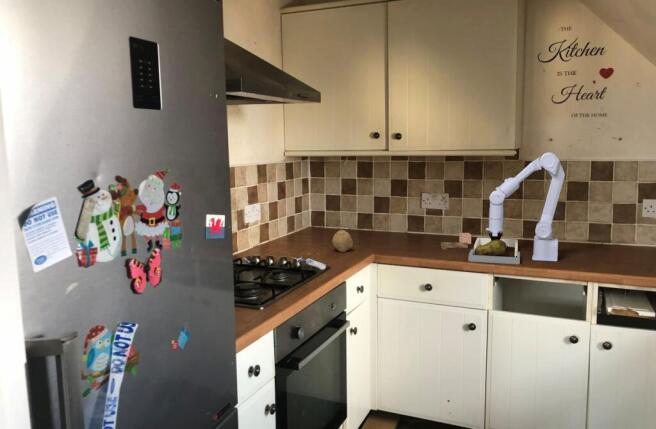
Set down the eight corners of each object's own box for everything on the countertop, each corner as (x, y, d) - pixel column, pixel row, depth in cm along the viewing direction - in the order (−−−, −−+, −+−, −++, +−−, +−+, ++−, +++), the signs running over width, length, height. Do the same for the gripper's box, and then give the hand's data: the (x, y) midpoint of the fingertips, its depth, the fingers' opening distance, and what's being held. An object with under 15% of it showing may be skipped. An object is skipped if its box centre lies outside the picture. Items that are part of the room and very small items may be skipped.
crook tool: (467, 246, 257) (467, 242, 257) (469, 249, 252) (469, 245, 251) (441, 246, 258) (441, 242, 258) (442, 249, 252) (442, 245, 252)
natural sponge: (328, 251, 251) (328, 229, 250) (344, 248, 256) (344, 227, 254) (339, 254, 243) (339, 232, 242) (355, 252, 248) (355, 230, 247)
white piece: (517, 246, 256) (517, 239, 255) (517, 256, 235) (517, 248, 235) (477, 244, 261) (477, 237, 261) (473, 254, 241) (473, 246, 241)
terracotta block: (468, 242, 269) (468, 232, 268) (470, 243, 264) (471, 234, 264) (459, 242, 269) (459, 233, 268) (461, 243, 264) (461, 234, 264)
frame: (519, 257, 234) (519, 251, 233) (519, 264, 221) (519, 258, 221) (471, 254, 240) (471, 249, 240) (468, 261, 228) (468, 255, 228)
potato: (473, 252, 240) (476, 234, 238) (504, 256, 236) (507, 238, 234) (473, 258, 232) (475, 240, 230) (505, 262, 229) (507, 244, 227)
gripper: (487, 215, 243) (486, 245, 245) (485, 220, 230) (484, 252, 232) (504, 216, 241) (503, 246, 243) (503, 221, 228) (501, 253, 230)
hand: (495, 249), depth 237 cm, fingers closed, pressing on potato
